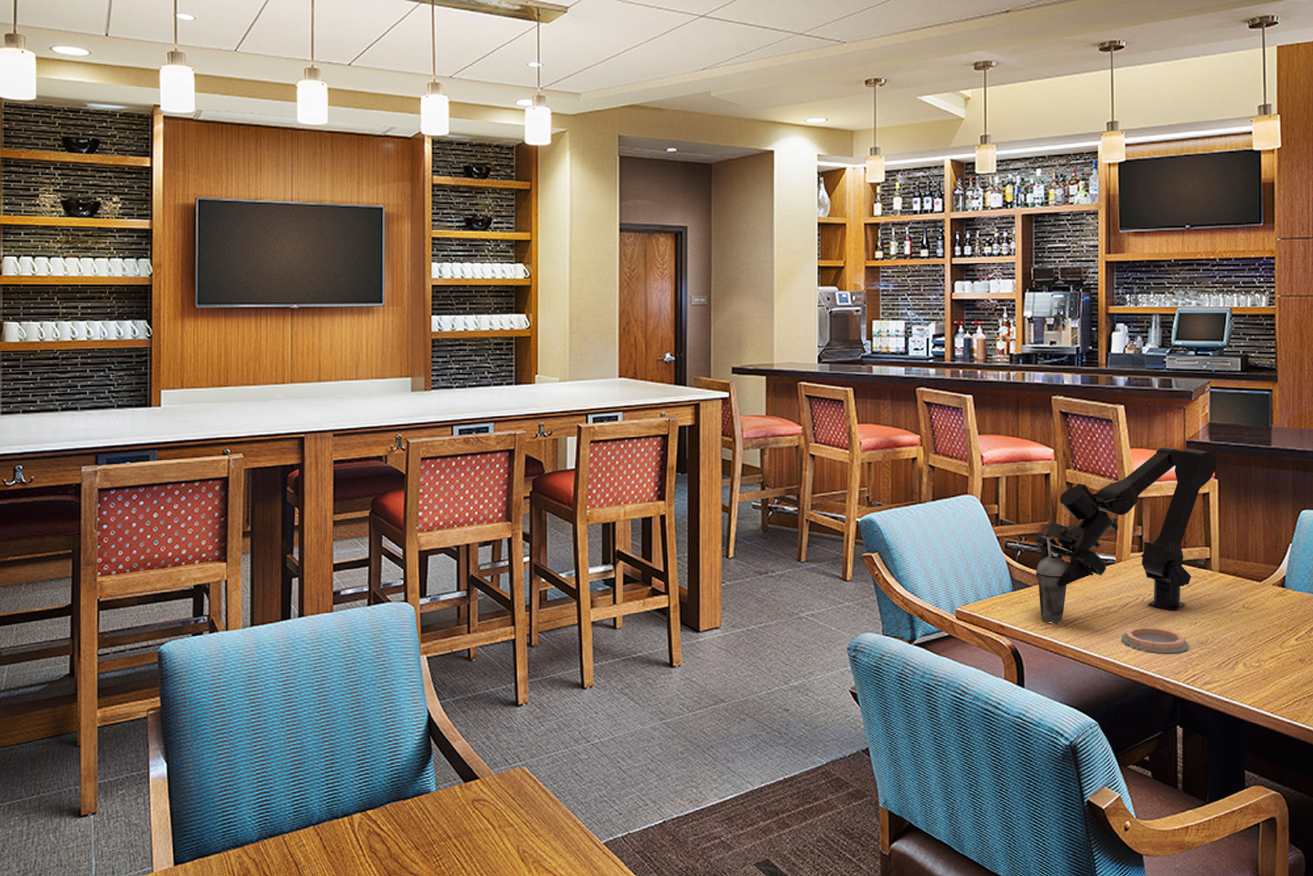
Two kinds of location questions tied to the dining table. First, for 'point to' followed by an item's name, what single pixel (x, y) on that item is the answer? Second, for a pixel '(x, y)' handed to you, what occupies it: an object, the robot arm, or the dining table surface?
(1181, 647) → the cup holder
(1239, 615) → the dining table surface
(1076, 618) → the dining table surface
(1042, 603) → the beverage cup
